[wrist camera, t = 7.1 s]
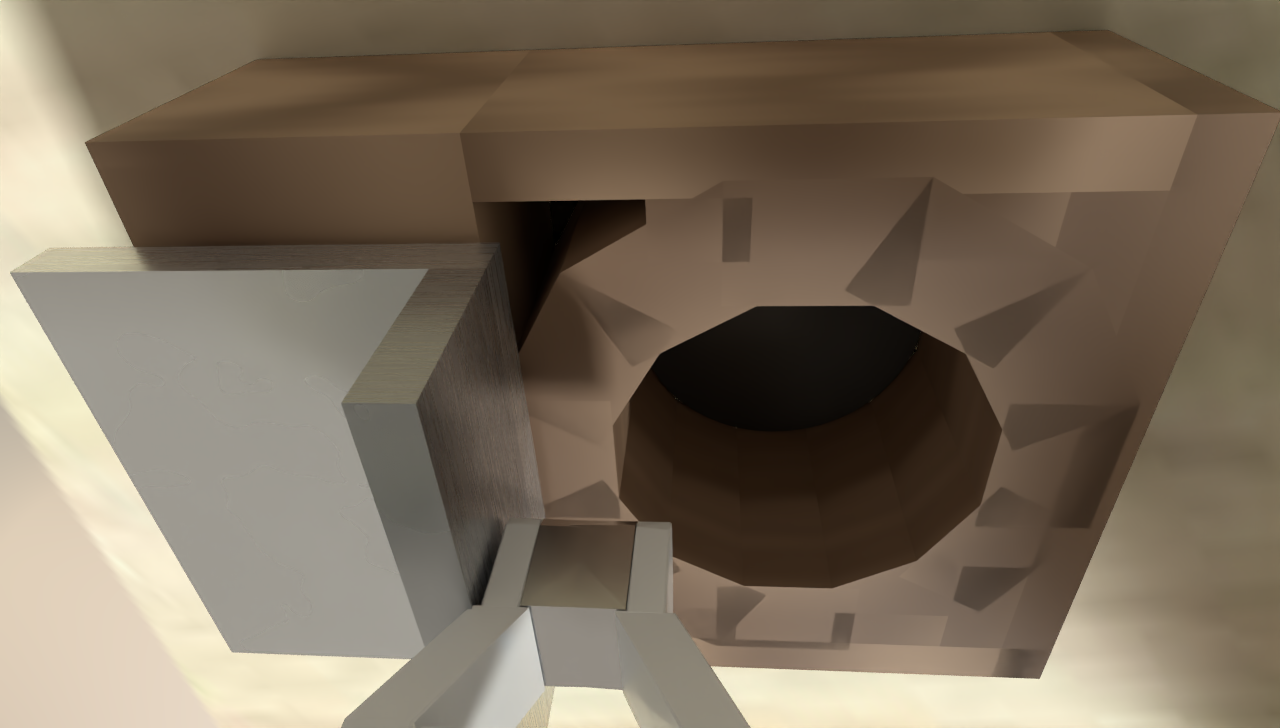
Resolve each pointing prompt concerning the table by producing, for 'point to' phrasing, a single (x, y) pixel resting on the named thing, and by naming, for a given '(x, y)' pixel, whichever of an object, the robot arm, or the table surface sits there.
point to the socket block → (780, 295)
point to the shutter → (308, 427)
